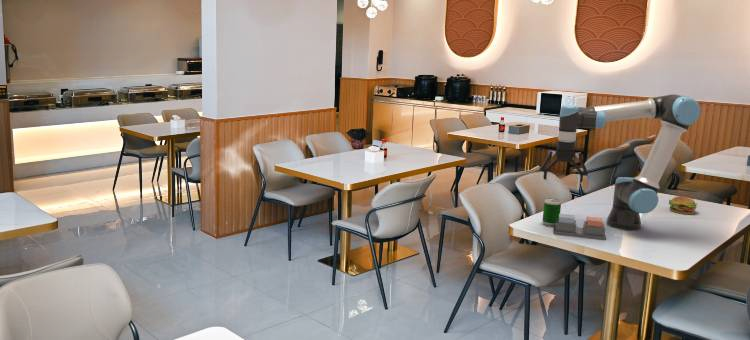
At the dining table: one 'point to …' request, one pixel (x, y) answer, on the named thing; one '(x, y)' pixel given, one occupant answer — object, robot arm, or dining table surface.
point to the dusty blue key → (566, 218)
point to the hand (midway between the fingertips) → (561, 188)
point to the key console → (579, 230)
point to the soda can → (551, 211)
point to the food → (682, 205)
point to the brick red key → (594, 222)
